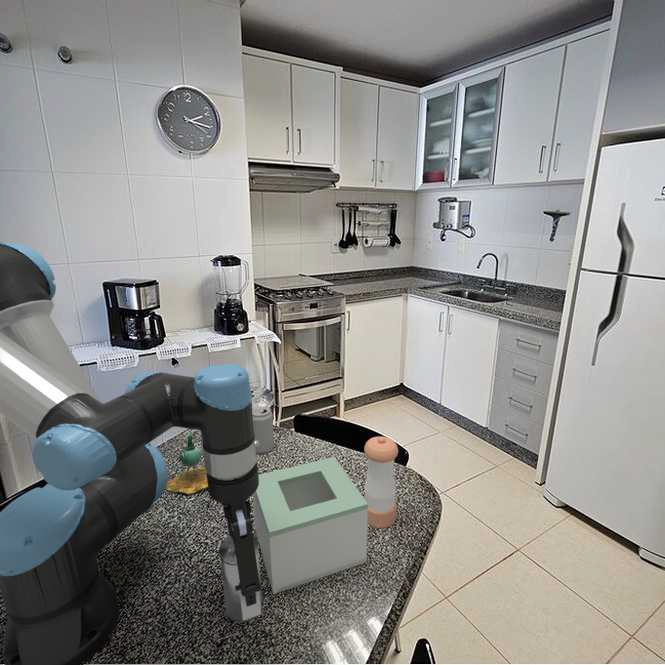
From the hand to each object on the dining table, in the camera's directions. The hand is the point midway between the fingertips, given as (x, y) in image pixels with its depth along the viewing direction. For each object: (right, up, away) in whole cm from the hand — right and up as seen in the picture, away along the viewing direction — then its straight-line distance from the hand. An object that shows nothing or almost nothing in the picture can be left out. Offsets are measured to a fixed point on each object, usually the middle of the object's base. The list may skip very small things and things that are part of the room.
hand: (244, 579), depth 65 cm
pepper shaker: (+25, 0, +22) cm, 33 cm away
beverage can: (-5, +7, +48) cm, 48 cm away
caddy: (+10, -2, +14) cm, 17 cm away
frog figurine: (-19, +3, +33) cm, 38 cm away
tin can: (0, -5, +2) cm, 6 cm away
